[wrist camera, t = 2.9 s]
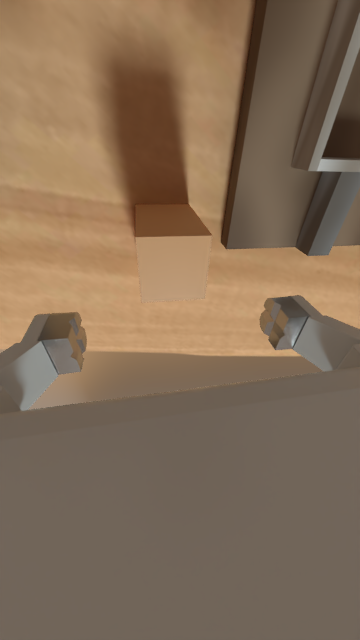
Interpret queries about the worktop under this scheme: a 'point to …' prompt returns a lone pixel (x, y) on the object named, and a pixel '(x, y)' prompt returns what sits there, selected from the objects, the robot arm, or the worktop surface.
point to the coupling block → (171, 252)
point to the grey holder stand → (298, 130)
